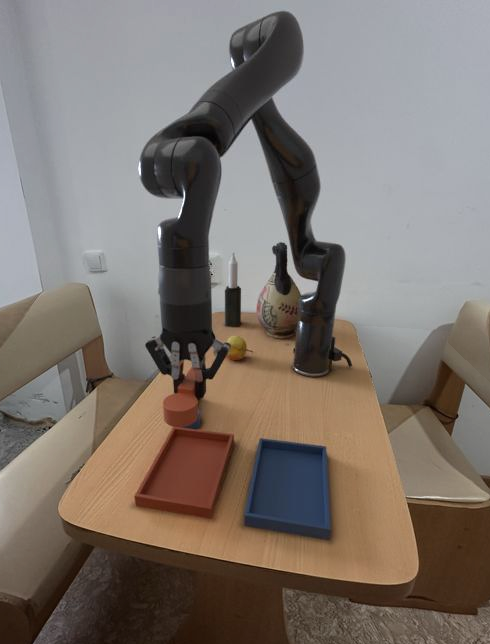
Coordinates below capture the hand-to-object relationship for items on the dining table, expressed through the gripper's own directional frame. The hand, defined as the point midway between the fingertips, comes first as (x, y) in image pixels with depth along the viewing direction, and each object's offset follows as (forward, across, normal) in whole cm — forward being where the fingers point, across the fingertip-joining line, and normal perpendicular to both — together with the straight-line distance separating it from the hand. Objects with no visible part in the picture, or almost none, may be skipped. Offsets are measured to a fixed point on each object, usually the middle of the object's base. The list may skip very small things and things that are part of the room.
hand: (190, 397), depth 61 cm
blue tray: (+14, -17, +2) cm, 22 cm away
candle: (+14, +7, -72) cm, 73 cm away
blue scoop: (+14, +6, -16) cm, 22 cm away
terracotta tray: (+14, 0, +2) cm, 14 cm away
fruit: (+14, +1, -44) cm, 46 cm away
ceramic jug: (+14, -10, -65) cm, 68 cm away
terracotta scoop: (+1, 0, 0) cm, 1 cm away
